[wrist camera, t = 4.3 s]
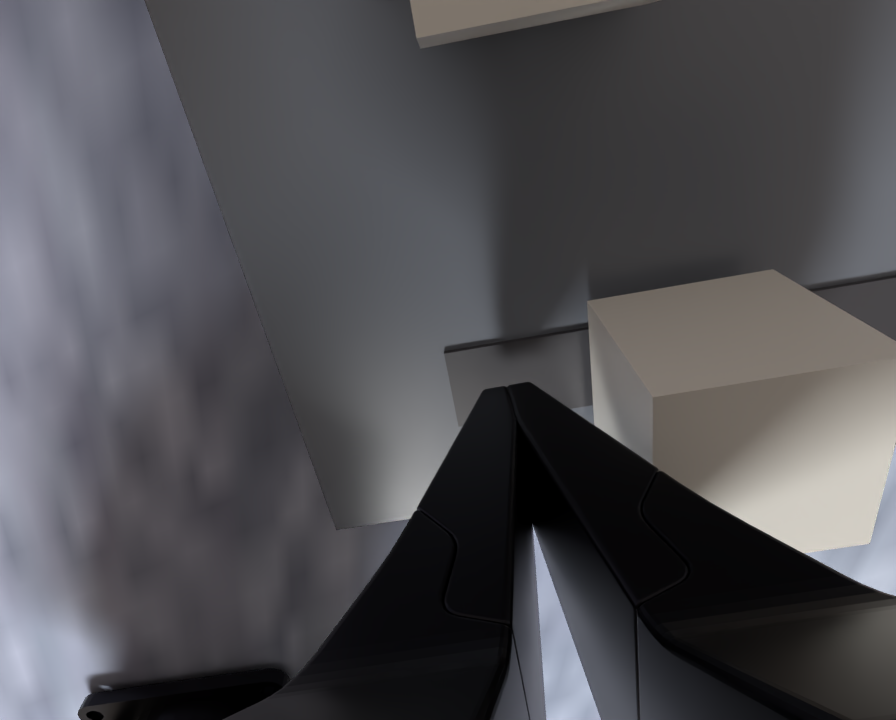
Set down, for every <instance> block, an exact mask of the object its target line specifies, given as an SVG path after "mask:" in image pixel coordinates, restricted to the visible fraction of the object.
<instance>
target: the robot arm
mask: <svg viewBox="0 0 896 720" xmlns="http://www.w3.org/2000/svg"><path fill="white" fill-rule="evenodd" d="M532 524H533V525H532ZM533 527H534V530H535V533H536V536H537V538H538V541H539V544H540V547H541V550H542V553H543V555H544V558H545V561H546V564H547V567H548V570H549V573H550V575H551V578H552V581H553V584H554V587H555V590H556V592H557V595H558V598H559V601H560V604H561V607H562V610H563V612H564V615H565V618H566V621H567V624H568V627H569V629H570V632H571V635H572V638H573V641H574V644H575V647H576V649H577V652H578V655H579V658H580V661H581V664H582V666H583V669H584V672H585V675H586V678H587V681H588V684H589V686H590V689H591V692H592V695H593V698H594V701H595V703H596V706H597V709H598V712H599V715H600V718H601V720H896V596H893V595H890V594H887V593H883V592H881V591H878V590H876V589H873V588H871V587H868V586H866V585H863V584H861V583H859V582H857V581H855V580H853V579H851V578H849V577H847V576H845V575H843V574H841V573H839V572H837V571H836V570H834V569H832V568H830V567H828V566H826V565H824V564H823V563H821V562H819V561H817V560H815V559H813V558H811V557H810V556H808V555H806V554H804V553H802V552H800V551H798V550H797V549H795V548H793V547H791V546H789V545H787V544H785V543H784V542H782V541H780V540H778V539H776V538H774V537H772V536H771V535H769V534H767V533H765V532H763V531H761V530H759V529H758V528H756V527H754V526H752V525H750V524H748V523H746V522H745V521H743V520H741V519H739V518H738V517H736V516H734V515H732V514H731V513H729V512H727V511H725V510H723V509H722V508H720V507H718V506H716V505H715V504H713V503H711V502H709V501H708V500H706V499H705V498H703V497H702V496H700V495H698V494H697V493H695V492H694V491H692V490H691V489H689V488H687V487H686V486H684V485H683V484H681V483H680V482H678V481H677V480H675V479H674V478H672V477H671V476H669V475H668V474H666V473H665V472H663V471H659V469H658V468H657V467H656V466H654V465H653V464H651V463H650V462H648V461H647V460H645V459H644V458H642V457H641V456H639V455H638V454H636V453H635V452H633V451H632V450H630V449H629V448H627V447H626V446H625V445H623V444H622V443H620V442H619V441H617V440H616V439H614V438H613V437H611V436H610V435H608V434H607V433H605V432H604V431H602V430H601V429H599V428H598V427H596V426H595V425H593V424H592V423H591V422H589V421H588V420H586V419H585V418H583V417H582V416H580V415H579V414H577V413H576V412H574V411H573V410H571V409H570V408H568V407H567V406H565V405H564V404H562V403H561V402H560V401H558V400H557V399H555V398H554V397H552V396H551V395H549V394H548V393H546V392H545V391H543V390H542V389H540V388H539V387H537V386H536V385H534V384H533V383H531V382H523V383H517V384H512V385H509V386H507V387H506V386H500V387H494V388H488V389H484V390H483V391H482V393H481V394H480V396H479V398H478V400H477V402H476V403H475V405H474V407H473V409H472V410H471V412H470V414H469V416H468V418H467V419H466V421H465V423H464V425H463V426H462V428H461V430H460V432H459V434H458V435H457V437H456V439H455V441H454V442H453V444H452V446H451V448H450V450H449V451H448V453H447V455H446V457H445V458H444V460H443V462H442V464H441V466H440V467H439V469H438V471H437V473H436V474H435V476H434V478H433V480H432V481H431V483H430V485H429V487H428V489H427V490H426V492H425V494H424V496H423V497H422V499H421V501H420V503H419V505H418V506H417V510H416V511H414V513H413V515H412V516H411V518H410V520H409V522H408V524H407V525H406V527H405V529H404V530H403V532H402V534H401V535H400V537H399V539H398V540H397V542H396V543H395V545H394V547H393V548H392V550H391V552H390V553H389V555H388V556H387V557H386V559H385V560H384V562H383V563H382V564H381V566H380V567H379V569H378V570H377V572H376V573H375V574H374V576H373V577H372V579H371V580H370V581H369V583H368V584H367V585H366V587H365V588H364V589H363V591H362V592H361V593H360V595H359V596H358V597H357V599H356V600H355V601H354V603H353V604H352V605H351V607H350V608H349V609H348V611H347V612H346V613H345V615H344V616H343V617H342V619H341V620H340V621H339V623H338V624H337V625H336V627H335V628H334V629H333V631H332V632H331V633H330V635H329V636H328V637H327V639H326V640H325V641H324V643H323V644H322V645H321V647H320V648H319V649H318V651H317V652H316V653H315V655H314V656H313V657H312V658H311V660H310V661H309V662H308V663H307V665H306V666H305V667H304V668H303V669H302V670H301V671H300V672H299V673H298V674H297V675H296V676H295V677H294V678H293V679H292V680H291V681H290V679H289V677H288V676H287V675H286V673H284V672H282V671H281V670H277V669H262V670H255V671H248V672H241V673H234V674H227V675H220V676H213V677H206V678H199V679H192V680H184V681H177V682H170V683H163V684H156V685H149V686H142V687H135V688H128V689H121V690H114V691H106V692H99V693H93V694H90V695H88V696H87V697H86V698H85V700H84V702H83V703H82V705H81V707H80V709H79V711H78V716H79V718H80V719H81V720H546V711H545V696H544V682H543V667H542V653H541V638H540V624H539V610H538V595H537V581H536V566H535V552H534V538H533Z"/></svg>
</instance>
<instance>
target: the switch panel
mask: <svg viewBox="0 0 896 720" xmlns="http://www.w3.org/2000/svg"><path fill="white" fill-rule="evenodd" d="M145 3H146V6H147V9H148V11H149V14H150V17H151V20H152V22H153V25H154V28H155V31H156V33H157V36H158V39H159V42H160V44H161V47H162V50H163V53H164V55H165V58H166V61H167V64H168V66H169V69H170V72H171V75H172V77H173V80H174V83H175V86H176V89H177V91H178V94H179V97H180V100H181V102H182V105H183V108H184V111H185V113H186V116H187V119H188V122H189V124H190V127H191V130H192V133H193V135H194V138H195V141H196V144H197V146H198V149H199V152H200V155H201V157H202V160H203V163H204V166H205V169H206V171H207V174H208V177H209V180H210V182H211V185H212V188H213V191H214V193H215V196H216V199H217V202H218V204H219V207H220V210H221V213H222V215H223V218H224V221H225V224H226V226H227V229H228V232H229V235H230V237H231V240H232V243H233V246H234V249H235V251H236V254H237V257H238V260H239V262H240V265H241V268H242V271H243V273H244V276H245V279H246V282H247V284H248V287H249V290H250V293H251V295H252V298H253V301H254V304H255V306H256V309H257V312H258V315H259V317H260V320H261V323H262V326H263V329H264V331H265V334H266V337H267V340H268V342H269V345H270V348H271V351H272V353H273V356H274V359H275V362H276V364H277V367H278V370H279V373H280V375H281V378H282V381H283V384H284V386H285V389H286V392H287V395H288V397H289V400H290V403H291V406H292V409H293V411H294V414H295V417H296V420H297V422H298V425H299V428H300V431H301V433H302V436H303V439H304V442H305V444H306V447H307V450H308V453H309V455H310V458H311V461H312V464H313V466H314V469H315V472H316V475H317V477H318V480H319V483H320V486H321V488H322V491H323V494H324V497H325V500H326V502H327V505H328V508H329V511H330V513H331V516H332V519H333V522H334V524H335V527H336V530H340V529H347V528H353V527H360V526H366V525H373V524H379V523H386V522H393V521H399V520H406V519H410V518H411V516H412V515H413V513H414V511H416V510H417V506H418V505H419V503H420V501H421V499H422V497H423V496H424V494H425V492H426V490H427V489H428V487H429V485H430V483H431V481H432V480H433V478H434V476H435V474H436V473H437V471H438V469H439V467H440V466H441V464H442V462H443V460H444V458H445V457H446V455H447V453H448V451H449V450H450V448H451V446H452V444H453V442H454V441H455V439H456V437H457V435H458V434H459V432H460V430H461V428H462V426H463V425H464V423H465V421H466V419H467V418H468V416H469V414H470V412H471V410H472V409H473V407H474V405H475V403H476V402H477V400H478V398H479V396H480V394H481V393H482V391H483V390H484V389H488V388H494V387H500V386H506V387H507V386H509V385H512V384H517V383H523V382H531V383H533V384H534V385H536V386H537V387H539V388H540V389H542V390H543V391H545V392H546V393H548V394H549V395H551V396H552V397H554V398H555V399H557V400H558V401H560V402H561V403H562V404H564V405H565V406H567V407H568V408H570V409H571V410H573V411H574V412H576V413H577V414H579V415H580V416H582V417H583V418H585V419H586V420H588V421H589V422H591V423H592V424H593V425H594V412H593V395H592V378H591V360H590V343H589V326H588V308H587V301H590V300H595V299H601V298H607V297H613V296H619V295H625V294H631V293H636V292H642V291H648V290H654V289H660V288H666V287H672V286H677V285H683V284H689V283H695V282H701V281H707V280H713V279H718V278H724V277H730V276H736V275H742V274H748V273H754V272H759V271H765V270H771V269H773V270H775V271H777V272H778V273H780V274H782V275H784V276H785V277H787V278H789V279H790V280H792V281H794V282H796V283H797V284H799V285H801V286H802V287H804V288H806V289H808V290H809V291H811V292H813V293H814V294H816V295H818V296H819V297H821V298H823V299H825V300H826V301H828V302H830V303H831V304H833V305H835V306H837V307H838V308H840V309H842V310H843V311H845V312H847V313H849V314H850V315H852V316H854V317H855V318H857V319H859V320H860V321H862V322H864V323H866V324H867V325H869V326H871V327H872V328H874V329H876V330H878V331H879V332H881V333H883V334H884V335H886V336H888V337H890V338H891V339H893V340H895V341H896V0H660V1H656V2H653V3H649V4H645V5H640V6H635V7H630V8H624V9H619V10H614V11H609V12H604V13H599V14H594V15H589V16H584V17H579V18H574V19H569V20H564V21H559V22H553V23H548V24H543V25H538V26H533V27H528V28H523V29H518V30H513V31H508V32H503V33H498V34H493V35H488V36H482V37H477V38H472V39H467V40H462V41H457V42H452V43H447V44H442V45H437V46H432V47H427V48H422V49H420V46H419V44H418V41H417V38H416V33H415V27H414V21H413V15H412V10H411V4H410V0H145Z"/></svg>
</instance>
